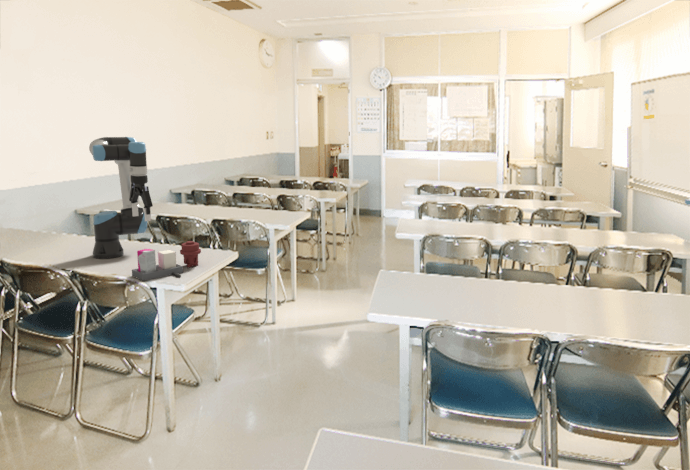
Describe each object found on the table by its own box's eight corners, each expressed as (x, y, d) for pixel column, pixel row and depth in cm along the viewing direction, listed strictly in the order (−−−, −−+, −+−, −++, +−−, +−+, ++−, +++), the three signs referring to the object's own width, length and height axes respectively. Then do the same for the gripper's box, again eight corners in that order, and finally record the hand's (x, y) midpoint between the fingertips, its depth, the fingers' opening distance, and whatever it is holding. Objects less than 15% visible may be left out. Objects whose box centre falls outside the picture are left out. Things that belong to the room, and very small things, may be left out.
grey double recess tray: (132, 275, 247) (130, 255, 245) (172, 267, 261) (171, 248, 259) (149, 284, 235) (147, 262, 233) (190, 275, 249) (189, 254, 247)
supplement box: (156, 273, 248) (155, 249, 245) (146, 276, 243) (145, 252, 240) (148, 271, 251) (146, 248, 248) (138, 274, 246) (136, 250, 243)
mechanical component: (205, 263, 269) (195, 269, 260) (186, 262, 271) (177, 267, 262) (203, 240, 267) (194, 244, 257) (185, 239, 269) (175, 243, 259)
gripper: (120, 172, 258) (123, 215, 263) (142, 178, 241) (145, 224, 246) (135, 171, 263) (137, 213, 268) (158, 177, 246) (160, 221, 251)
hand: (141, 218), depth 257 cm, fingers open, 13 cm apart
